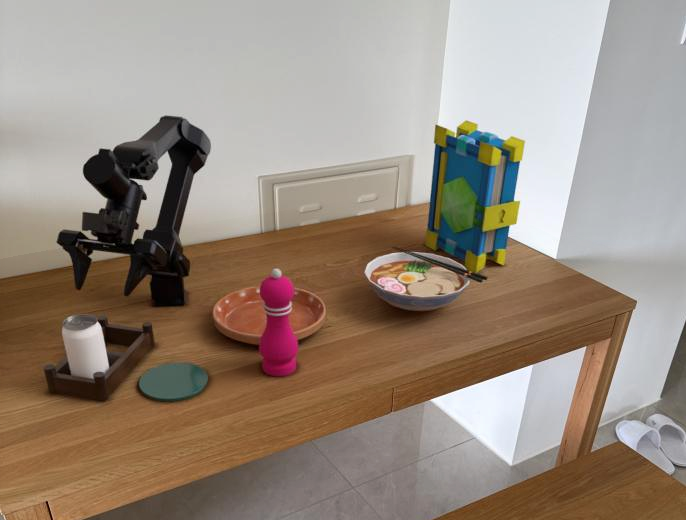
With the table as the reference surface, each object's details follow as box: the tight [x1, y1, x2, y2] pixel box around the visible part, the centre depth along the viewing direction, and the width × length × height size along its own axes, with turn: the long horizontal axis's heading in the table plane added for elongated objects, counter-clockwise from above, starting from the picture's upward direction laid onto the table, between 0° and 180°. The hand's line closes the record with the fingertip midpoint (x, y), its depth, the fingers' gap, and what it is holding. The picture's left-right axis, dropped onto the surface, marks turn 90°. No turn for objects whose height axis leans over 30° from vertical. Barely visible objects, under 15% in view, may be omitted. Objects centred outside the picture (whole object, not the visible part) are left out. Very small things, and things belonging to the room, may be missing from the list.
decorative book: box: [424, 119, 526, 274], centre depth 173 cm, size 14×23×30 cm, turn 33°
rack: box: [43, 315, 156, 402], centre depth 131 cm, size 20×11×5 cm, turn 168°
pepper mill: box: [258, 268, 299, 377], centre depth 129 cm, size 7×7×20 cm
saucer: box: [212, 285, 327, 346], centre depth 147 cm, size 23×23×4 cm
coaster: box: [138, 362, 209, 402], centre depth 129 cm, size 12×12×1 cm
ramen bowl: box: [364, 246, 488, 312], centre depth 156 cm, size 25×23×8 cm
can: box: [61, 313, 109, 379], centre depth 125 cm, size 6×6×12 cm
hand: (101, 292), depth 127 cm, fingers open, 9 cm apart
